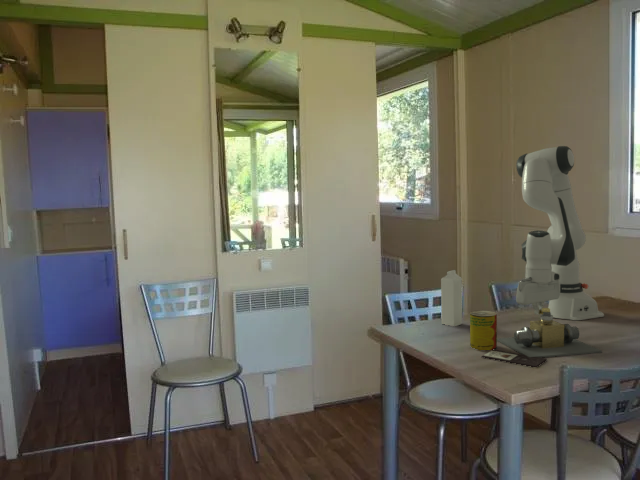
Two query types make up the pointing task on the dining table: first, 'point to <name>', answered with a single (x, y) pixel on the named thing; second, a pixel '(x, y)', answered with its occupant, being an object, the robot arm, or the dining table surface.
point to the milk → (451, 299)
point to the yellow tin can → (483, 330)
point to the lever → (546, 316)
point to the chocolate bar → (514, 358)
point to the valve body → (546, 334)
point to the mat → (535, 351)
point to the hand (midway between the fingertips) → (538, 314)
